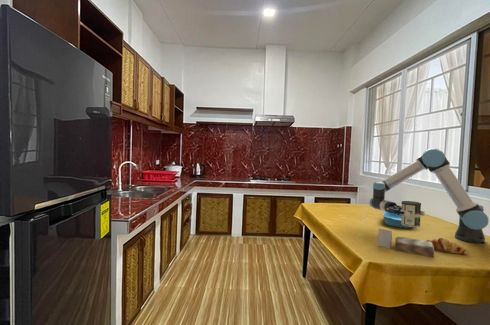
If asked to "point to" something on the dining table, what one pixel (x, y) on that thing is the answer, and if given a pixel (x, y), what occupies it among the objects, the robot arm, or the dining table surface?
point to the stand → (414, 246)
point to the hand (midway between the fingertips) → (416, 214)
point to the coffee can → (411, 213)
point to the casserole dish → (393, 219)
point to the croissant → (448, 246)
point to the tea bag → (384, 238)
